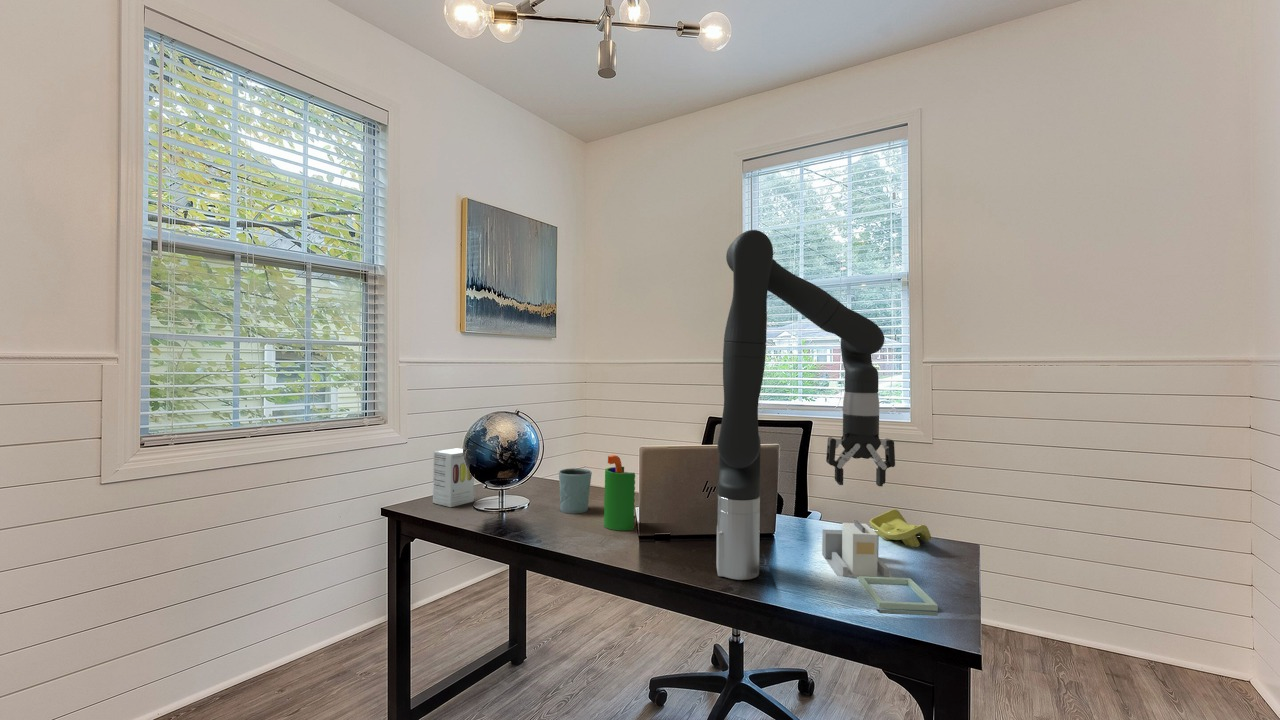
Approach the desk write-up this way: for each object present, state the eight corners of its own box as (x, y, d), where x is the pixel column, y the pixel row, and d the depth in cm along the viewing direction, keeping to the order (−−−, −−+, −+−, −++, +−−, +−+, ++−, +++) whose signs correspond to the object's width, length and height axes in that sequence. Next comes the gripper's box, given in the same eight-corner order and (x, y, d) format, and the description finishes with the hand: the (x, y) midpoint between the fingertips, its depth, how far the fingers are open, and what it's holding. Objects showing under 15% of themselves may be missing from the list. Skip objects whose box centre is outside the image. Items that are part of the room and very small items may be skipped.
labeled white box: (852, 575, 119) (853, 529, 119) (841, 561, 128) (842, 518, 128) (877, 576, 119) (878, 530, 119) (865, 562, 127) (865, 519, 127)
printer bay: (837, 580, 119) (837, 548, 119) (822, 558, 132) (822, 529, 132) (894, 582, 118) (895, 550, 118) (873, 560, 131) (874, 531, 131)
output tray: (879, 613, 104) (879, 602, 104) (858, 585, 117) (858, 576, 117) (937, 615, 103) (937, 605, 103) (910, 587, 116) (910, 578, 116)
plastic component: (866, 520, 156) (899, 506, 155) (879, 545, 155) (912, 530, 155) (891, 538, 136) (929, 521, 136) (906, 566, 135) (944, 549, 135)
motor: (643, 527, 155) (643, 456, 155) (616, 533, 150) (616, 459, 150) (623, 518, 163) (624, 451, 163) (597, 523, 158) (597, 453, 158)
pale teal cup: (552, 508, 173) (553, 470, 173) (580, 503, 179) (580, 466, 179) (568, 516, 165) (569, 476, 165) (597, 510, 171) (597, 472, 171)
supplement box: (450, 508, 173) (450, 454, 173) (431, 503, 178) (432, 451, 178) (474, 501, 181) (475, 450, 181) (456, 497, 186) (456, 447, 186)
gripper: (832, 413, 120) (831, 488, 120) (900, 415, 119) (899, 490, 119) (823, 410, 127) (822, 480, 128) (887, 411, 126) (886, 482, 126)
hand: (859, 485), depth 123 cm, fingers open, 8 cm apart
